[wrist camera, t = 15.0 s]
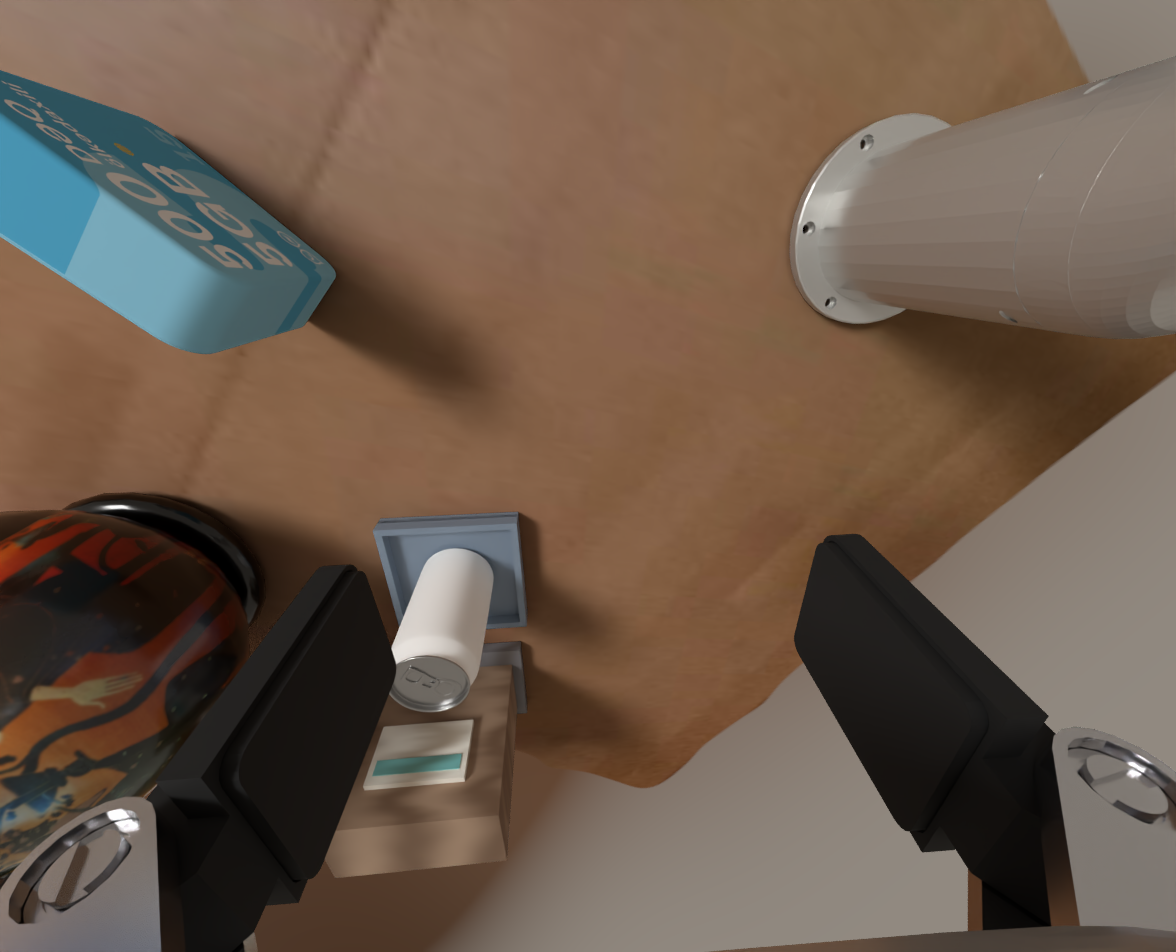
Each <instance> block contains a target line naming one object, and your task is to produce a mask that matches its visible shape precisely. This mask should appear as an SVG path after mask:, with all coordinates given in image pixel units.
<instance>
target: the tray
mask: <svg viewBox="0 0 1176 952" xmlns="http://www.w3.org/2000/svg"><path fill="white" fill-rule="evenodd" d="M373 533H374V537H375V540H376V544H377V548H378V551H379V555H380V559H381V562H382V566H383V569H384V573H385V577H386V580H387V584H388V588H389V591H390V595H391V599H392V602H393V606H394V609H395V613H396V617H397V620H398V624H399V627H400V625H401V622H402V620H403V617H404V614H405V612H406V609H407V607H408V604H409V602H410V599H411V597H412V594H413V592H414V589H415V587H416V584H417V582H418V579H419V577H420V574H421V572H422V570H423V567H424V565H425V563H426V562H427V560H428V559H429V558H430V557H431V556H433V555H434V554H436V553H438V552H440V551H443V550H446V549H453V548H460V549H466V550H470V551H473V552H475V553H477V554H479V555H480V556H482V557H483V558H484V559H485V560H486V561H487V562H488V563H489V565H490V566H491V568H492V571H493V576H494V579H493V587H492V594H491V600H490V607H489V613H488V619H487V625H486V629H495V628H510V627H525V626H527V602H526V591H525V581H524V570H523V559H522V549H521V538H520V528H519V517H518V512H504V513H484V514H464V515H443V516H423V517H403V518H382V519H380V520H379V522H378V523H377V525H376V527H375V528H374V530H373Z"/></svg>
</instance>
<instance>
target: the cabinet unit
mask: <svg viewBox="0 0 1176 952" xmlns="http://www.w3.org/2000/svg"><path fill="white" fill-rule="evenodd" d="M521 713H527V695H526V686H525V677H524V667H523V658H522V649H521V641H518V642H504V643H489V644H483V649H482V655H481V661H480V666H479V671H478V674H477V677H476V679H475V680H474V682H473V683H472V685H471V686H470V690H469V693H468V695H467V697H466V698H465V699H464V700H463V701H462V702H461V703H460V704H459V705H457V706H455V707H453V708H451V709H448V710H445V711H440V712H420V711H415V710H411V709H409V708H406V707H404V706H402V705H400V704H399V703H397V702H396V701H395V700H394V699H393V698H392V697H391V696H390V694H389V696H388V698H387V701H386V703H385V706H384V708H383V711H382V713H381V716H380V719H379V721H378V724H377V726H376V729H375V731H374V734H373V737H372V739H371V742H370V744H369V747H368V749H367V752H366V754H365V757H364V760H363V762H362V765H361V767H360V770H359V772H358V775H357V778H356V780H355V783H354V785H353V788H352V790H351V793H350V795H349V798H348V801H347V803H346V806H345V808H344V811H343V813H342V816H341V819H340V821H339V824H338V826H337V829H336V831H335V834H334V836H333V839H332V842H331V844H330V847H329V849H328V852H327V854H326V857H325V861H326V863H327V864H328V866H329V868H330V870H331V871H332V873H333V875H334V877H335V878H340V877H350V876H359V875H368V874H379V873H389V872H398V871H408V870H418V869H427V868H437V867H447V866H457V865H467V864H477V863H487V862H496V861H505V860H507V853H508V837H509V823H510V809H511V794H512V778H513V765H514V750H515V735H516V721H517V714H521Z"/></svg>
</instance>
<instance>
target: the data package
mask: <svg viewBox="0 0 1176 952" xmlns="http://www.w3.org/2000/svg"><path fill="white" fill-rule="evenodd" d="M0 237H1V238H3V239H5V240H6V241H8V242H9V243H11V244H12V245H14V246H15V247H17V248H18V249H20V250H21V251H23V252H25V253H26V254H28V255H29V256H31V257H32V258H34V259H35V260H37V261H38V262H40V263H42V264H43V265H45V266H46V267H48V268H49V269H51V270H52V271H54V272H55V273H57V274H58V275H60V276H62V277H63V278H65V279H66V280H68V281H69V282H71V283H72V284H74V285H75V286H77V287H78V288H80V289H82V290H83V291H85V292H86V293H88V294H89V295H91V296H92V297H94V298H95V299H97V300H99V301H100V302H102V303H103V304H105V305H106V306H108V307H109V308H111V309H112V310H114V311H115V312H117V313H119V314H120V315H122V316H123V317H125V318H126V319H128V320H129V321H131V322H132V323H134V324H136V325H137V326H139V327H140V328H142V329H143V330H145V331H146V332H148V333H149V334H151V335H152V336H154V337H156V338H157V339H159V340H161V341H163V342H165V343H167V344H169V345H171V346H173V347H176V348H179V349H182V350H185V351H189V352H193V353H199V354H212V353H216V352H220V351H223V350H226V349H230V348H233V347H236V346H240V345H243V344H247V343H250V342H253V341H257V340H260V339H263V338H267V337H270V336H274V335H277V334H280V333H284V332H287V331H290V330H294V329H297V328H301V327H303V326H304V325H305V324H306V322H307V321H308V319H309V318H310V316H311V315H312V313H313V312H314V310H315V309H316V307H317V305H318V304H319V302H320V301H321V299H322V298H323V296H324V295H325V293H326V292H327V290H328V289H329V287H330V286H331V284H332V283H333V281H334V280H335V278H336V273H335V270H334V269H333V267H332V266H331V265H330V264H329V263H328V262H327V261H326V260H325V259H324V258H323V257H322V256H320V255H319V254H318V253H317V252H315V251H314V250H313V249H312V248H311V247H309V246H308V245H307V244H306V243H304V242H303V241H302V240H301V239H299V238H298V237H297V236H296V235H295V234H293V233H292V232H291V231H290V230H288V229H287V228H286V227H285V226H283V225H282V224H281V223H280V222H279V221H277V220H276V219H275V218H274V217H272V216H271V215H270V214H269V213H267V212H266V211H265V210H264V209H263V208H261V207H260V206H259V205H258V204H256V203H255V202H254V201H253V200H252V199H250V198H249V197H248V196H247V195H245V194H244V193H243V192H242V191H240V190H239V189H238V188H237V187H236V186H234V185H233V184H232V183H231V182H229V181H228V180H227V179H226V178H224V177H223V176H222V175H221V174H220V173H218V172H217V171H216V170H215V169H213V168H212V167H211V166H210V165H208V164H207V163H206V162H205V161H204V160H202V159H201V158H200V157H199V156H197V155H196V154H195V153H194V152H192V151H191V150H190V149H189V148H188V147H186V146H185V145H184V144H183V143H181V142H180V141H179V140H177V139H176V138H175V137H173V136H172V135H170V134H169V133H167V132H166V131H164V130H163V129H161V128H159V127H158V126H156V125H154V124H152V123H151V122H149V121H147V120H145V119H143V118H140V117H138V116H135V115H132V114H129V113H126V112H123V111H120V110H117V109H114V108H111V107H108V106H105V105H102V104H99V103H96V102H93V101H90V100H87V99H84V98H81V97H78V96H76V95H73V94H70V93H67V92H64V91H61V90H58V89H55V88H52V87H49V86H46V85H43V84H40V83H37V82H34V81H31V80H28V79H25V78H22V77H19V76H16V75H13V74H10V73H7V72H4V71H1V70H0Z"/></svg>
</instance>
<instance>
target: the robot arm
mask: <svg viewBox="0 0 1176 952" xmlns="http://www.w3.org/2000/svg"><path fill="white" fill-rule="evenodd" d="M860 142H861V148H860ZM804 226H805V232H804V233H803V227H804ZM789 254H790V262H791V270H792V274H793V277H794V280H795V283H796V286H797V288H798V289H799V291H800V293H801V295H802V296H803V298H804V300H805V301H806V302H807V303H808V304H809V305H810V306H811V307H812V308H813V309H814V310H816V311H817V312H819V313H820V314H822V315H824V316H825V317H828V318H831V319H834V320H837V321H840V322H846V323H851V324H867V323H872V322H877V321H881V320H885V319H887V318H890V317H892V316H895V315H897V314H899V313H901V312H903V311H904V310H906V309H911V310H917V311H924V312H930V313H937V314H943V315H950V316H956V317H963V318H969V319H976V320H982V321H989V322H995V323H1002V324H1008V325H1015V326H1021V327H1028V328H1035V329H1041V330H1048V331H1054V332H1061V333H1068V334H1075V335H1081V336H1088V337H1097V338H1109V339H1137V338H1147V337H1155V336H1162V335H1169V334H1174V333H1176V56H1174V57H1171V58H1167V59H1164V60H1162V61H1158V62H1155V63H1152V64H1149V65H1146V66H1142V67H1139V68H1136V69H1133V70H1129V71H1126V72H1123V73H1120V74H1117V75H1114V76H1110V77H1108V78H1104V79H1101V80H1098V81H1095V82H1091V83H1088V84H1085V85H1082V86H1079V87H1076V88H1072V89H1069V90H1066V91H1063V92H1060V93H1057V94H1053V95H1050V96H1047V97H1044V98H1041V99H1038V100H1034V101H1031V102H1028V103H1025V104H1022V105H1019V106H1015V107H1012V108H1009V109H1006V110H1003V111H1000V112H996V113H993V114H990V115H987V116H984V117H981V118H977V119H974V120H971V121H968V122H965V123H962V124H958V125H955V126H951V125H950V124H948V123H947V122H945V121H943V120H940V119H938V118H936V117H934V116H931V115H924V114H917V113H912V114H903V115H895V116H892V117H890V118H887V119H884V120H881V121H878V122H876V123H873V124H871V125H869V126H867V127H865V128H863V129H861V130H859V131H857V132H856V133H855V134H853V135H852V136H850V137H849V138H847V139H846V140H845V141H843V142H842V143H841V144H840V145H839V146H838V147H837V148H836V149H835V150H834V151H833V152H832V153H831V154H830V155H829V156H828V157H827V158H826V159H825V160H824V161H823V163H822V164H821V165H820V167H819V168H818V169H817V171H816V172H815V173H814V175H813V176H812V178H811V180H810V182H809V183H808V185H807V187H806V189H805V191H804V193H803V194H802V197H801V199H800V202H799V205H798V207H797V210H796V213H795V216H794V221H793V225H792V230H791V234H790V253H789ZM826 300H827V303H826V304H825V302H826ZM794 641H795V646H796V649H797V652H798V654H799V656H800V657H801V659H802V661H803V662H804V664H805V666H806V668H807V669H808V671H809V673H810V675H811V676H812V678H813V680H814V681H815V683H816V685H817V687H818V688H819V690H820V692H821V694H822V695H823V697H824V699H825V700H826V702H827V704H828V706H829V707H830V709H831V711H832V712H833V714H834V716H835V718H836V719H837V721H838V723H839V724H840V726H841V728H842V730H843V732H844V733H845V735H846V737H847V738H848V740H849V742H850V744H851V745H852V747H853V749H854V750H855V752H856V754H857V756H858V757H859V759H860V761H861V763H862V764H863V766H864V768H865V770H866V771H867V773H868V775H869V776H870V778H871V780H872V782H873V783H874V785H875V787H876V788H877V790H878V792H879V794H880V795H881V797H882V799H883V800H884V802H885V804H886V806H887V808H888V809H889V811H890V813H891V814H892V816H893V818H894V819H895V821H896V822H897V824H898V825H899V826H900V827H901V828H902V829H904V830H905V831H910V833H911V834H912V836H913V838H914V840H915V841H916V843H917V845H918V846H919V848H920V850H921V851H922V852H934V851H946V850H955V849H956V851H957V852H958V854H959V855H960V857H961V858H962V860H963V861H964V863H965V865H966V866H967V868H968V931H964V932H947V933H934V934H921V935H908V936H896V937H883V938H872V939H859V940H847V941H833V942H822V943H810V944H796V945H785V946H771V947H759V948H748V949H735V950H723V951H712V952H1176V772H1175V771H1174V770H1172V769H1171V768H1170V767H1169V766H1167V765H1166V764H1165V763H1164V762H1162V761H1160V760H1159V759H1157V758H1156V757H1154V756H1152V755H1151V754H1149V753H1148V752H1146V751H1144V750H1143V749H1141V748H1140V747H1137V746H1135V745H1133V744H1131V743H1129V742H1127V741H1124V740H1123V739H1121V738H1118V737H1116V736H1114V735H1110V734H1107V733H1104V732H1101V731H1098V730H1095V729H1089V728H1081V727H1071V728H1065V729H1061V730H1060V731H1059V732H1058V733H1057V734H1055V733H1054V732H1053V731H1052V730H1051V729H1050V728H1049V727H1048V726H1047V725H1046V724H1045V723H1044V722H1045V721H1046V719H1047V718H1048V715H1047V714H1046V713H1045V712H1044V711H1043V710H1042V709H1041V708H1040V707H1039V706H1038V705H1036V704H1035V703H1034V701H1032V700H1031V699H1030V698H1029V697H1028V696H1027V695H1026V694H1025V693H1024V692H1023V691H1022V690H1021V689H1020V688H1019V687H1018V686H1017V685H1016V684H1015V683H1014V682H1013V681H1012V680H1011V679H1010V678H1009V677H1008V676H1007V675H1006V674H1005V673H1004V672H1002V671H1001V670H1000V669H999V668H998V667H997V666H996V665H995V664H994V663H993V662H992V661H991V660H990V659H989V658H988V657H987V656H986V655H985V654H984V653H983V652H982V651H981V650H980V649H978V647H976V645H974V644H973V643H972V642H971V641H970V640H969V639H968V638H967V637H966V636H965V635H964V634H963V633H962V632H961V631H960V630H959V629H958V628H957V627H956V626H955V625H954V624H953V623H952V622H951V621H950V620H949V619H947V618H946V616H944V615H943V614H942V613H941V612H940V611H939V610H938V609H937V608H936V607H935V606H934V605H933V604H932V603H931V602H930V601H929V600H928V599H927V598H926V597H925V596H924V595H923V594H922V593H921V592H920V591H919V590H918V589H916V588H915V587H914V586H913V585H912V584H911V583H910V582H909V581H908V580H907V579H906V578H905V577H904V576H903V575H902V574H901V573H900V572H899V571H898V570H897V569H896V568H895V567H894V566H893V565H892V564H891V563H890V562H889V561H887V560H886V559H885V558H884V557H883V556H882V555H881V554H880V553H879V552H878V551H877V550H876V549H875V548H874V547H873V546H872V545H871V544H870V543H869V542H868V541H867V540H866V539H865V538H864V537H862V536H861V535H858V534H846V535H830V536H827V537H826V538H825V539H824V542H823V543H820V544H818V546H817V548H816V551H815V555H814V559H813V563H812V567H811V571H810V575H809V579H808V583H807V587H806V591H805V595H804V599H803V603H802V607H801V611H800V615H799V619H798V623H797V627H796V631H795V636H794ZM395 676H396V661H395V658H394V655H393V652H392V649H391V646H390V643H389V641H388V638H387V635H386V632H385V629H384V626H383V623H382V620H381V617H380V615H379V612H378V609H377V606H376V603H375V600H374V597H373V594H372V591H371V589H370V586H369V583H368V580H367V577H366V575H365V573H364V572H362V571H357V569H356V567H355V566H354V565H335V566H322V567H320V568H319V569H318V570H316V572H315V573H314V574H313V575H312V577H311V578H310V579H309V581H308V582H307V583H306V585H305V586H304V587H303V589H302V590H301V591H300V592H299V594H298V595H297V596H296V598H295V599H294V600H293V602H292V603H291V604H290V606H289V607H288V608H287V609H286V611H285V612H284V613H283V615H282V616H281V617H280V619H279V620H278V621H277V623H276V624H275V625H274V626H273V628H272V629H271V630H270V632H269V633H268V634H267V636H266V637H265V638H264V639H263V641H262V642H261V643H260V645H259V646H258V647H257V649H256V650H255V651H254V653H253V654H252V655H251V656H250V658H249V659H248V660H247V662H246V663H245V664H244V666H243V667H242V668H241V670H240V671H239V672H238V673H237V675H236V676H235V677H234V679H233V680H232V681H231V683H230V684H229V685H228V687H227V688H226V689H225V690H224V692H223V693H222V694H221V696H220V697H219V698H218V700H217V701H216V702H215V704H214V705H213V706H212V707H211V709H210V710H209V711H208V713H207V714H206V715H205V717H204V718H203V719H202V721H201V722H200V723H199V724H198V726H197V727H196V728H195V730H194V731H193V732H192V734H191V735H190V736H189V737H188V739H187V740H186V741H185V743H184V744H183V745H182V747H181V748H180V749H179V751H178V752H177V753H176V754H175V756H174V757H173V758H172V760H171V761H170V762H169V764H168V765H167V766H166V768H165V769H164V770H163V771H162V773H161V774H160V775H159V777H158V778H157V779H156V781H155V782H156V783H157V786H156V787H155V788H154V790H153V791H152V792H151V794H150V795H149V796H148V798H147V799H144V798H142V797H123V798H119V799H116V800H112V801H108V802H105V803H103V804H101V805H99V806H97V807H95V808H92V809H90V810H88V811H86V812H84V813H82V814H81V815H79V816H78V817H76V818H74V819H73V820H71V821H70V822H68V823H67V824H65V825H64V826H62V827H61V828H59V829H58V830H57V831H55V832H54V833H53V834H52V835H50V836H49V837H48V838H47V839H46V840H44V841H43V842H42V843H41V844H40V845H38V846H37V847H36V848H35V849H34V850H33V851H32V852H31V853H30V854H29V855H28V856H27V857H26V858H25V859H24V860H23V861H22V862H21V864H20V865H19V866H18V867H17V868H16V869H15V870H14V871H13V872H12V874H11V875H10V876H9V878H8V879H7V881H6V882H5V884H4V885H3V886H2V888H1V889H0V952H258V951H257V945H256V941H255V934H254V930H255V928H256V926H257V924H258V921H259V919H260V917H261V915H262V912H263V910H264V908H265V906H266V905H277V904H290V903H298V902H299V900H300V897H301V895H302V893H303V890H304V888H305V885H306V883H307V880H308V879H311V878H313V877H315V876H316V874H317V873H318V872H319V870H320V869H321V866H322V864H323V862H324V859H325V857H326V854H327V852H328V849H329V847H330V844H331V842H332V839H333V836H334V834H335V831H336V829H337V826H338V824H339V821H340V819H341V816H342V813H343V811H344V808H345V806H346V803H347V801H348V798H349V795H350V793H351V790H352V788H353V785H354V783H355V780H356V778H357V775H358V772H359V770H360V767H361V765H362V762H363V760H364V757H365V754H366V752H367V749H368V747H369V744H370V742H371V739H372V737H373V734H374V731H375V729H376V726H377V724H378V721H379V719H380V716H381V713H382V711H383V708H384V706H385V703H386V701H387V698H388V696H389V693H390V690H391V688H392V685H393V683H394V680H395Z"/></svg>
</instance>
